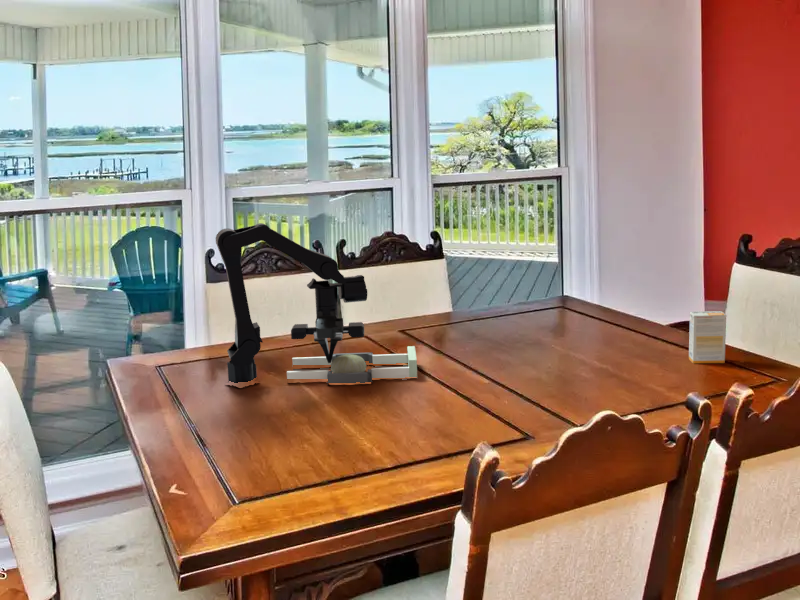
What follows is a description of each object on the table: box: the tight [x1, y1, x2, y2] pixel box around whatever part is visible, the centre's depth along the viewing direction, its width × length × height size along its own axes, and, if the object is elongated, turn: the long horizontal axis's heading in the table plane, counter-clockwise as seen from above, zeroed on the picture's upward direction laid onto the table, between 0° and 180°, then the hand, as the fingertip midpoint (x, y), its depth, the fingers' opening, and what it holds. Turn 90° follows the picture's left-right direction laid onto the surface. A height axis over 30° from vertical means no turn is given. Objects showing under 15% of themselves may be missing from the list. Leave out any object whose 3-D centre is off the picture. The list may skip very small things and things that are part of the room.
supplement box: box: [688, 310, 727, 364], centre depth 217 cm, size 8×5×13 cm, turn 84°
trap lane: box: [286, 351, 409, 384], centre depth 217 cm, size 31×20×3 cm, turn 91°
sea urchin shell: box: [330, 354, 368, 373], centre depth 217 cm, size 9×8×8 cm
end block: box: [406, 345, 418, 378], centre depth 217 cm, size 2×14×5 cm, turn 1°
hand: (329, 362), depth 217 cm, fingers closed
